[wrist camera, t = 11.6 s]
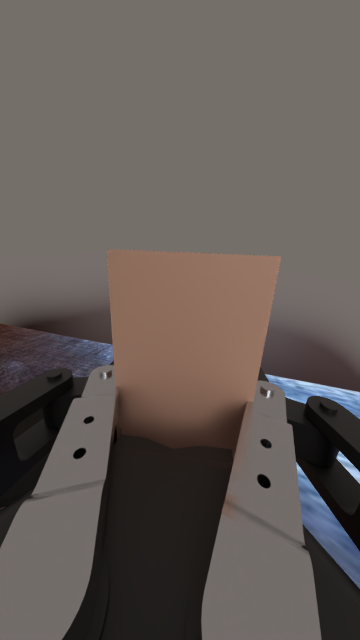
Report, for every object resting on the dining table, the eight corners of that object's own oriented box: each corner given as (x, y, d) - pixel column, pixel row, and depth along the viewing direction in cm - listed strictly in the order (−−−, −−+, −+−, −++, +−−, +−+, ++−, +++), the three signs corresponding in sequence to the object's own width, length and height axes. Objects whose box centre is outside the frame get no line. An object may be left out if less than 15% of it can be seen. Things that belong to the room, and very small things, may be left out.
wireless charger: (110, 437, 37) (110, 429, 37) (-12, 544, 23) (-16, 534, 22) (63, 400, 46) (62, 394, 46) (-46, 461, 32) (-50, 452, 31)
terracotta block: (124, 539, 10) (106, 248, 6) (150, 448, 14) (150, 256, 10) (223, 558, 9) (281, 256, 5) (216, 457, 14) (242, 261, 10)
